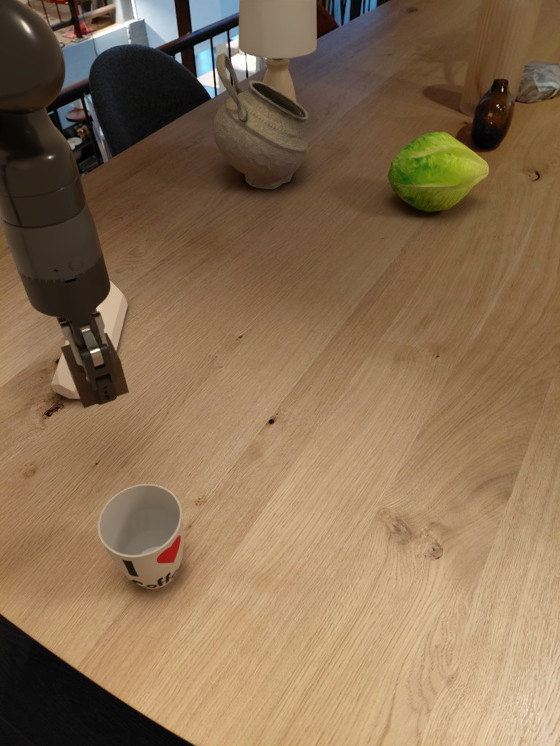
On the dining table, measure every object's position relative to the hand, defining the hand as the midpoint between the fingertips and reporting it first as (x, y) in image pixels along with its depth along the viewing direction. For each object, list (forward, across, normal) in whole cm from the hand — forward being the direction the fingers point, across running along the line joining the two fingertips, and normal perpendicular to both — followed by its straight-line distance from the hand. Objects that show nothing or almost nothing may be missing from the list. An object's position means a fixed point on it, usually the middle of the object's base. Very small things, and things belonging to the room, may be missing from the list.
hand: (99, 383), depth 63 cm
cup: (+14, +16, -1) cm, 21 cm away
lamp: (+14, -84, +68) cm, 109 cm away
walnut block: (0, 0, 0) cm, 0 cm away
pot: (+14, -62, +52) cm, 82 cm away
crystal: (+14, -23, +3) cm, 27 cm away
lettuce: (+14, -34, +78) cm, 86 cm away
